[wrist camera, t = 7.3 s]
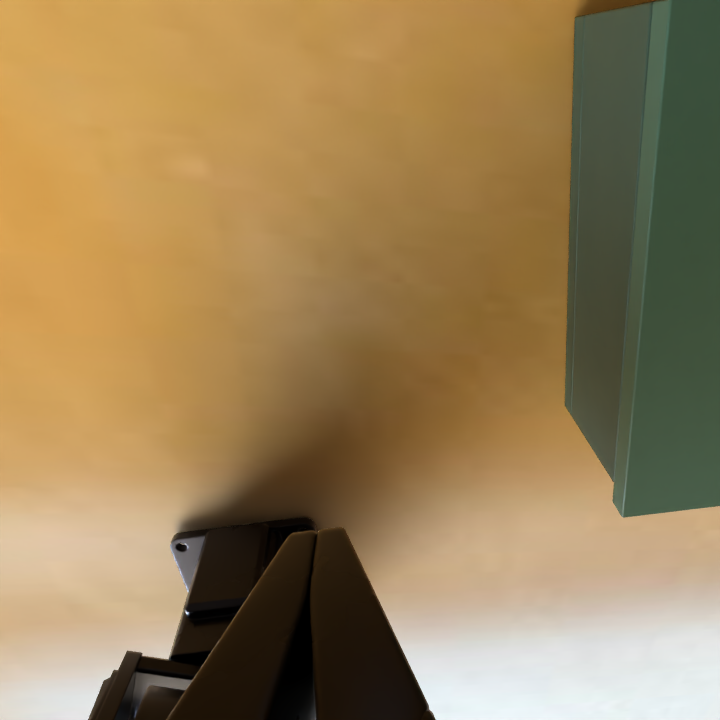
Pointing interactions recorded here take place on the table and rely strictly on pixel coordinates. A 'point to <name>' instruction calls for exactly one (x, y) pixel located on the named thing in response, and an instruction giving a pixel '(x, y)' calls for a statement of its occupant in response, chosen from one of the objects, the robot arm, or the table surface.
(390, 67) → the table surface
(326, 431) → the table surface
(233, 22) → the table surface
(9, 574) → the table surface
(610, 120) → the toy chest
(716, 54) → the lid
